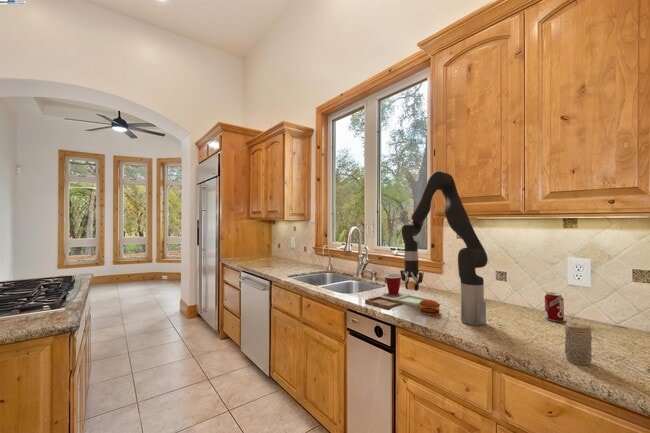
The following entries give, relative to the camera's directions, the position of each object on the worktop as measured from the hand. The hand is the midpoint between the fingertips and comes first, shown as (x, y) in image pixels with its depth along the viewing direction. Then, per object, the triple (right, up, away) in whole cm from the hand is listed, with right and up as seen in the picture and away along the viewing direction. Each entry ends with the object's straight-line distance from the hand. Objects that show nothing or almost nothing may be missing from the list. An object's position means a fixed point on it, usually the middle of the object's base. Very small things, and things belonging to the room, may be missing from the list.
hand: (412, 289), depth 162 cm
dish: (0, -7, 0) cm, 7 cm away
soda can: (+56, -7, -30) cm, 64 cm away
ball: (0, 0, 0) cm, 0 cm away
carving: (+32, -6, -70) cm, 77 cm away
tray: (-16, -7, -3) cm, 18 cm away
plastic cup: (-6, -8, +19) cm, 21 cm away
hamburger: (+3, -7, -20) cm, 21 cm away
